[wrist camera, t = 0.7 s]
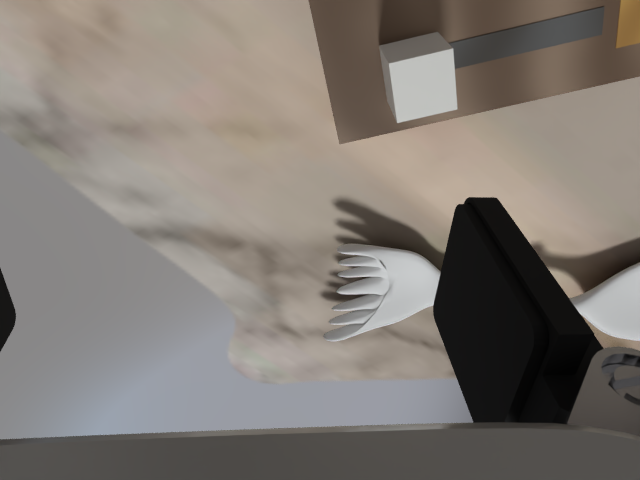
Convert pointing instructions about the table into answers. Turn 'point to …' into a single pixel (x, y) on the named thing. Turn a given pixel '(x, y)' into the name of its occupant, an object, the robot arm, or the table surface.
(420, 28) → the switch board
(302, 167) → the table surface
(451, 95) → the switch
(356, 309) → the spoon
